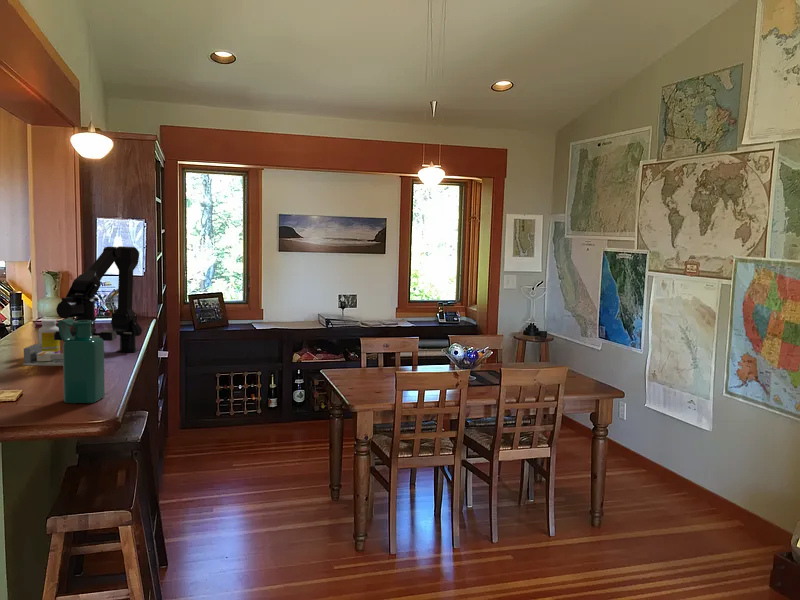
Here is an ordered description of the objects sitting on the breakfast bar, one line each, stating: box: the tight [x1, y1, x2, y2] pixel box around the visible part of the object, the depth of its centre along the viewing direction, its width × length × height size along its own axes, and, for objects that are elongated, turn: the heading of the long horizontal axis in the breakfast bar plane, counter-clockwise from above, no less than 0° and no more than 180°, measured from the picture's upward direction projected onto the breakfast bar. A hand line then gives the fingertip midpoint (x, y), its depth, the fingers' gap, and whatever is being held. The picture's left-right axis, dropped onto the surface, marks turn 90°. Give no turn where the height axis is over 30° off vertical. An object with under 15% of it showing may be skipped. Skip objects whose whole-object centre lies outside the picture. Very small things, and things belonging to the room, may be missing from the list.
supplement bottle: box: [38, 319, 61, 353], centre depth 223 cm, size 7×7×13 cm
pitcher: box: [57, 317, 106, 404], centre depth 168 cm, size 10×8×22 cm
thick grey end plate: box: [37, 351, 63, 361], centre depth 212 cm, size 8×13×3 cm, turn 98°
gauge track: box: [22, 343, 63, 367], centre depth 212 cm, size 10×14×6 cm
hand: (86, 359), depth 214 cm, fingers closed
